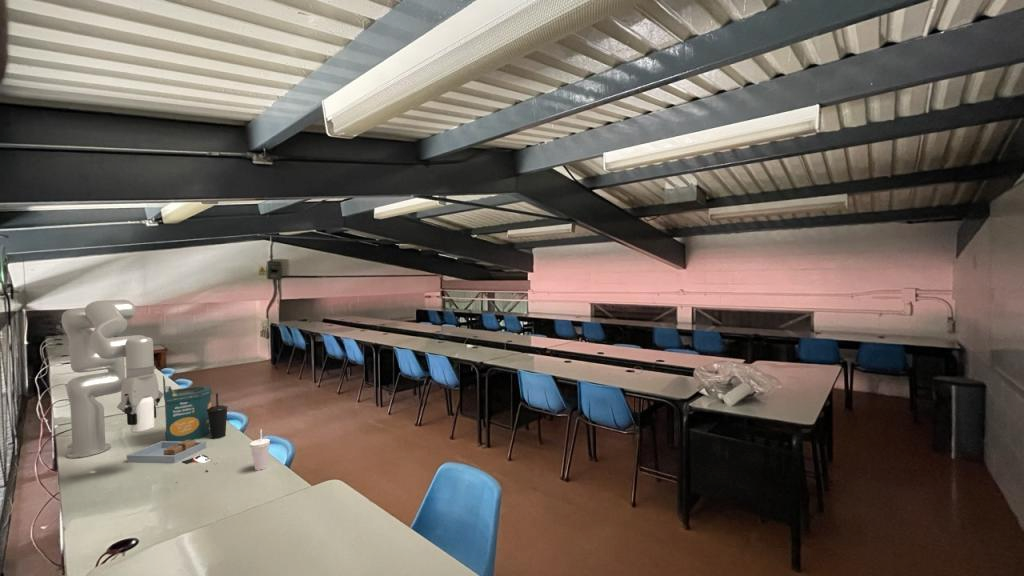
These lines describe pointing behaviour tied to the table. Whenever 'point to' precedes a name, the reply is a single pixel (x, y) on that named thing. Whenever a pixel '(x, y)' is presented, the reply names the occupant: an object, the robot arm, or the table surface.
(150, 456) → the tray
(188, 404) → the donation box
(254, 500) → the table surface
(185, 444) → the walnut block
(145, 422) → the can
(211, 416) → the drinking cup
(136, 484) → the table surface
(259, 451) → the smoothie
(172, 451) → the walnut block
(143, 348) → the robot arm
